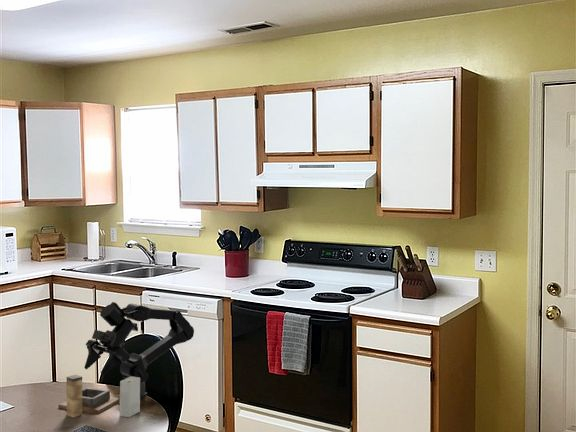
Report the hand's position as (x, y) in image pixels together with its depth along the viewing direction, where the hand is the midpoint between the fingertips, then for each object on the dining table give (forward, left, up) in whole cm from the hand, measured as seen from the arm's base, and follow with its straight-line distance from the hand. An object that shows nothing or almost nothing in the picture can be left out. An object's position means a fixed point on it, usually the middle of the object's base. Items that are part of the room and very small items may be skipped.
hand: (93, 371), depth 225 cm
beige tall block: (+3, +7, -13) cm, 15 cm away
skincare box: (-14, 0, -13) cm, 20 cm away
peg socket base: (+4, -3, -13) cm, 14 cm away
